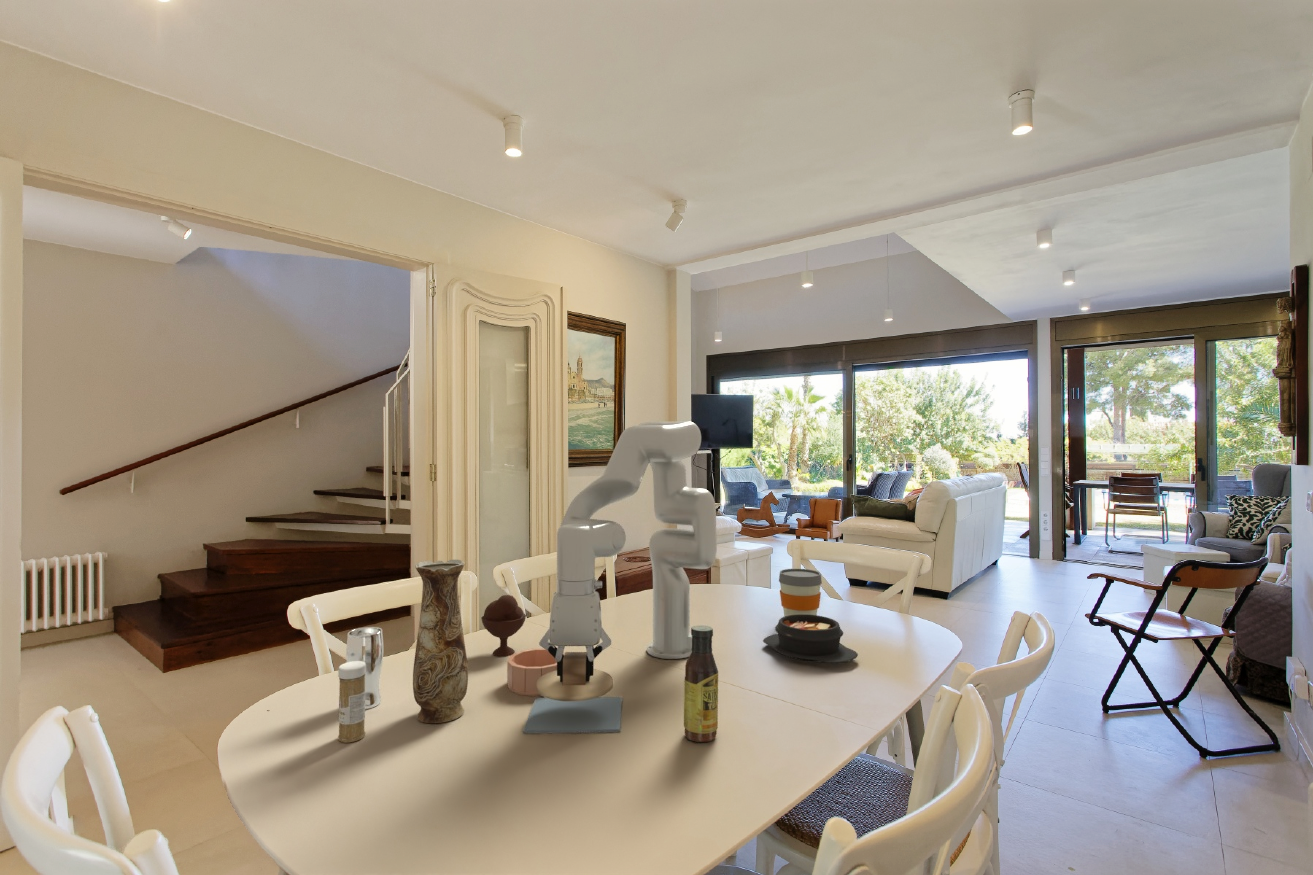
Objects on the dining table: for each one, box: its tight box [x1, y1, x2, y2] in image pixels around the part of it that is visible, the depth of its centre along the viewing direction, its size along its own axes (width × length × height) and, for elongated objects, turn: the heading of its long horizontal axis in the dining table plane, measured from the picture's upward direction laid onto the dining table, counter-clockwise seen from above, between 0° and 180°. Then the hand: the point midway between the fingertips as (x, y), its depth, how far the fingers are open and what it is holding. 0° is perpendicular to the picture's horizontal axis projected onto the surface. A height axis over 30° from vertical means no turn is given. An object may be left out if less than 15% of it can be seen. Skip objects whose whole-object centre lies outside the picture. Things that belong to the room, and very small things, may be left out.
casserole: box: [762, 614, 859, 665], centre depth 162 cm, size 25×19×8 cm
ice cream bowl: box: [481, 594, 527, 657], centre depth 163 cm, size 11×11×15 cm
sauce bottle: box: [683, 624, 719, 743], centre depth 117 cm, size 7×6×20 cm
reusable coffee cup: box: [778, 568, 823, 617], centre depth 190 cm, size 13×13×15 cm
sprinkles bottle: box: [337, 661, 366, 744], centre depth 116 cm, size 5×5×14 cm
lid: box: [537, 651, 614, 701], centre depth 126 cm, size 15×15×7 cm
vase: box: [412, 559, 469, 724], centre depth 127 cm, size 10×11×30 cm
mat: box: [522, 696, 623, 734], centre depth 126 cm, size 18×15×1 cm
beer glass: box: [345, 626, 384, 711], centre depth 131 cm, size 7×7×15 cm
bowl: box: [506, 647, 565, 697], centre depth 142 cm, size 13×13×6 cm
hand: (575, 678), depth 126 cm, fingers closed on lid, 4 cm apart
